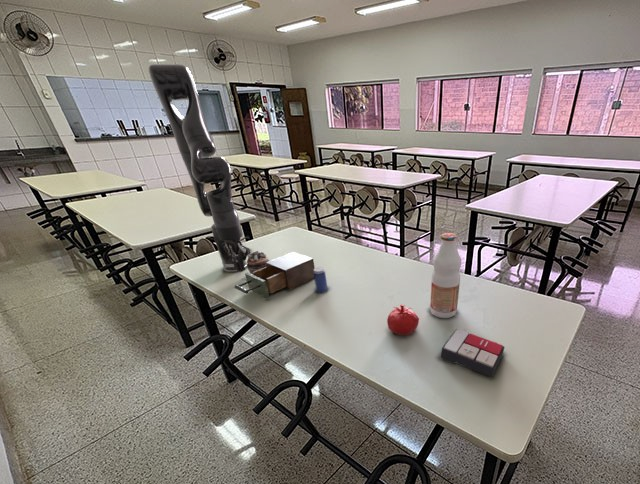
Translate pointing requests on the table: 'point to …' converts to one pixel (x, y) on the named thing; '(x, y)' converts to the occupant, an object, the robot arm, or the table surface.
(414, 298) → the table surface
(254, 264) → the cupcake
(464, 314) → the table surface
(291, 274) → the cabinet
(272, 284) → the drawer
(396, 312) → the pomegranate
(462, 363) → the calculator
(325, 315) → the table surface
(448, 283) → the fruit juice
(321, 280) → the pepper shaker
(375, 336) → the table surface
